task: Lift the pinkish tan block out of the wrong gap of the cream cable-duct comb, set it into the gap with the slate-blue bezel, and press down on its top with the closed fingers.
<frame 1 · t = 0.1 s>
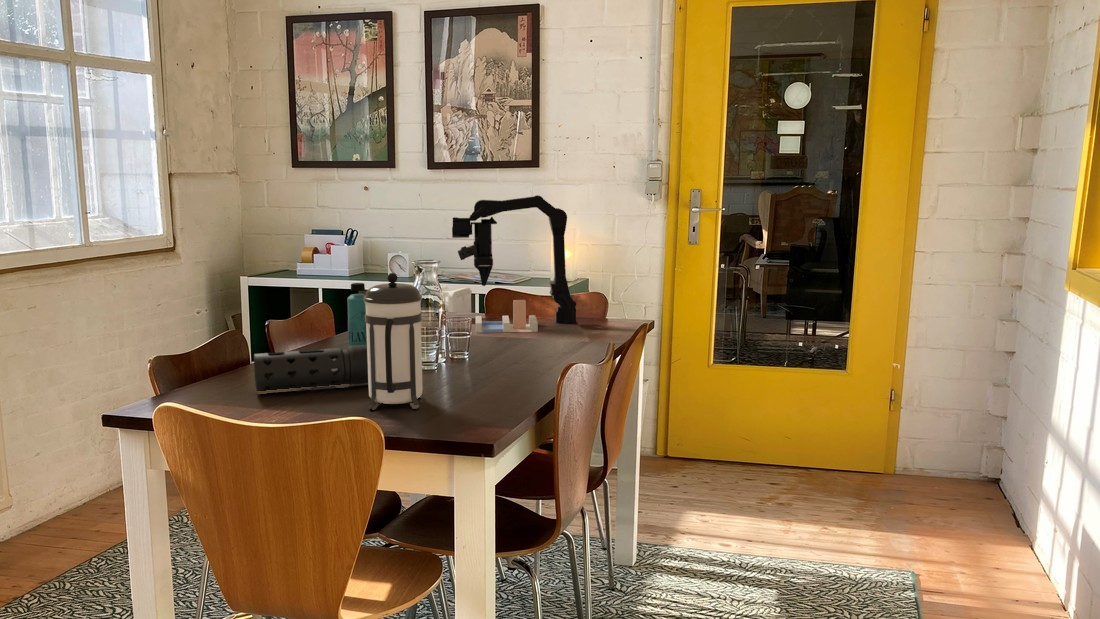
hand: (483, 284, 289), 15 cm above the table, fingers open, 9 cm apart
pinkish tan block: (519, 327, 283), point 1 cm above the table, touching duct comb
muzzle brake: (317, 391, 208), on the table
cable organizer: (450, 321, 302), on the table
beverage bottle: (359, 350, 253), on the table
coffee press: (397, 406, 194), on the table
duct comb: (506, 331, 283), on the table
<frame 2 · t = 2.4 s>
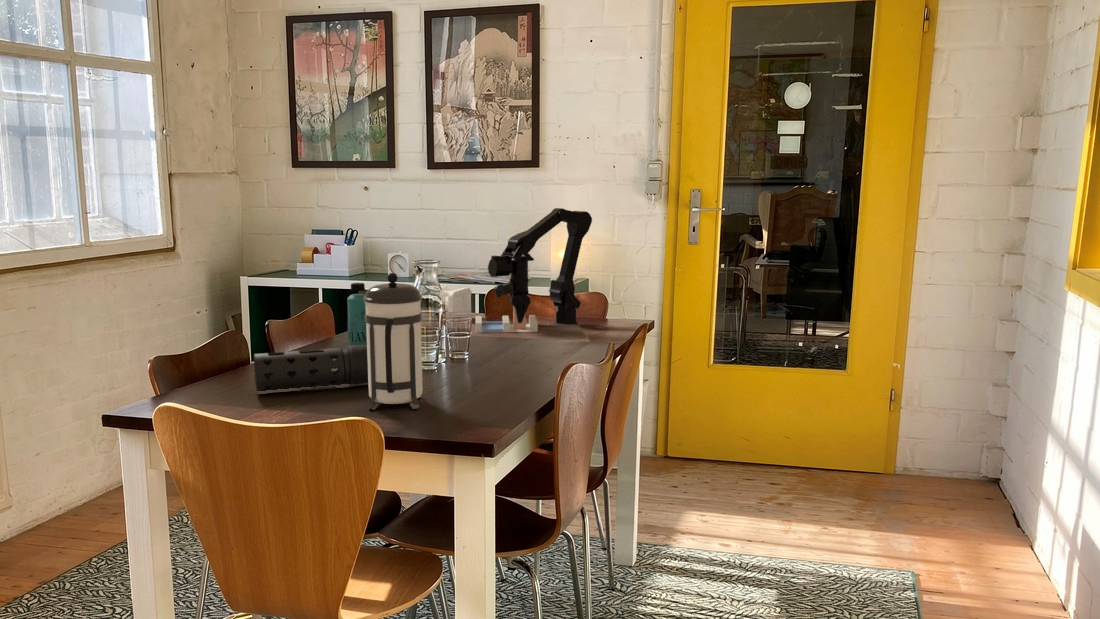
hand: (519, 321, 283), 3 cm above the table, fingers closed on pinkish tan block, 4 cm apart
pinkish tan block: (519, 327, 283), point 1 cm above the table, touching duct comb, gripper
everything else where it was.
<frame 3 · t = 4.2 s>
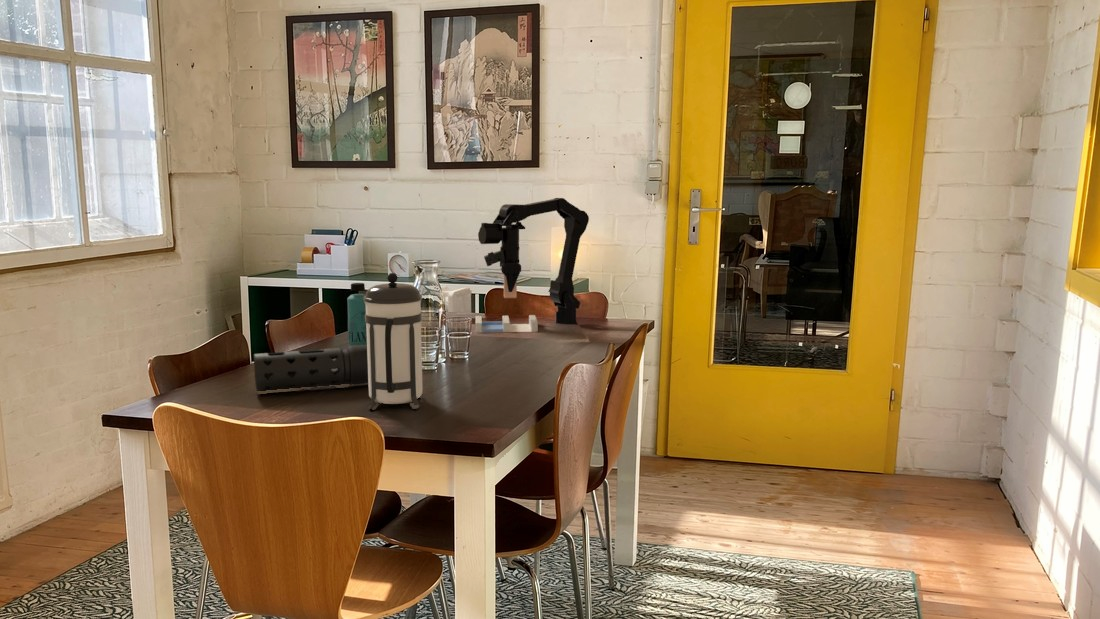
hand: (510, 291, 281), 13 cm above the table, fingers closed on pinkish tan block, 4 cm apart
pinkish tan block: (510, 297, 281), point 11 cm above the table, touching gripper
everything else where it was.
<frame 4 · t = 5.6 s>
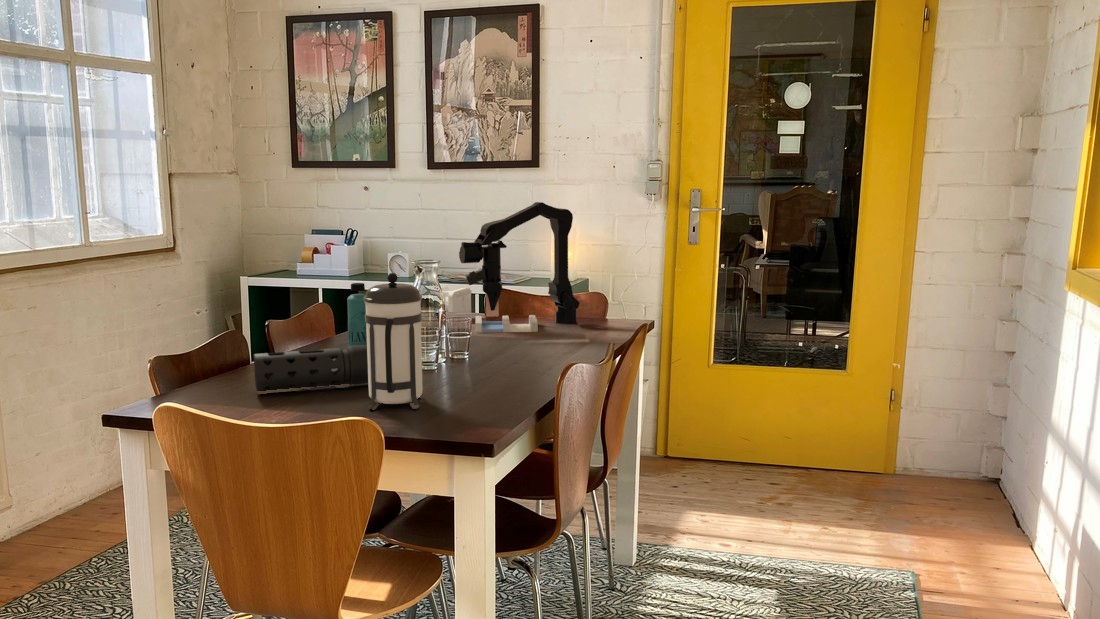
hand: (492, 309, 282), 7 cm above the table, fingers closed on pinkish tan block, 4 cm apart
pinkish tan block: (492, 315, 282), point 5 cm above the table, touching gripper
everything else where it was.
when the fingers open (5 cm above the table, at t = 6.4 s): pinkish tan block drops 1 cm, resting on duct comb.
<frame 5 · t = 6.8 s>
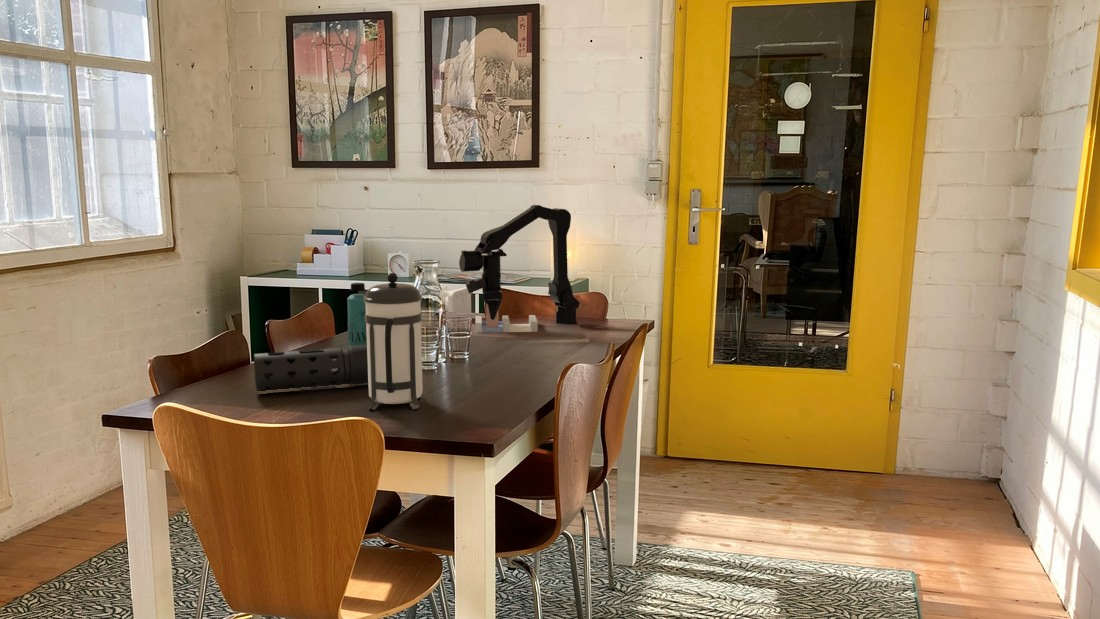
hand: (492, 317, 282), 5 cm above the table, fingers open, 8 cm apart
pinkish tan block: (492, 327, 283), point 1 cm above the table, touching duct comb
everything else where it was.
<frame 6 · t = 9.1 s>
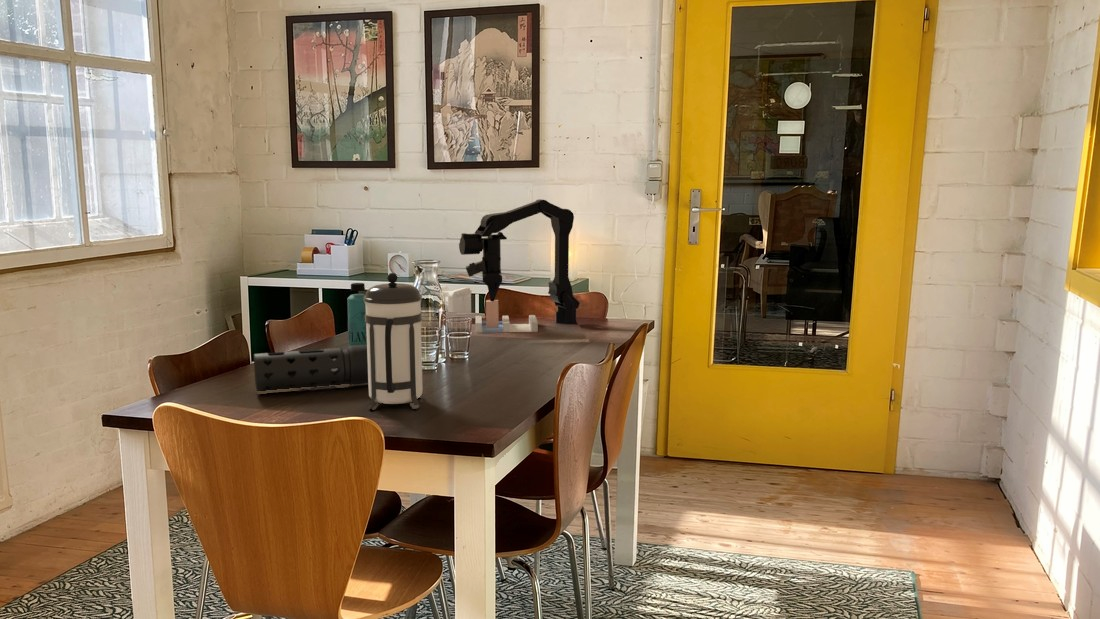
hand: (492, 301, 281), 10 cm above the table, fingers closed, pressing on pinkish tan block
pinkish tan block: (492, 327, 283), point 1 cm above the table, touching duct comb, gripper
everything else where it was.
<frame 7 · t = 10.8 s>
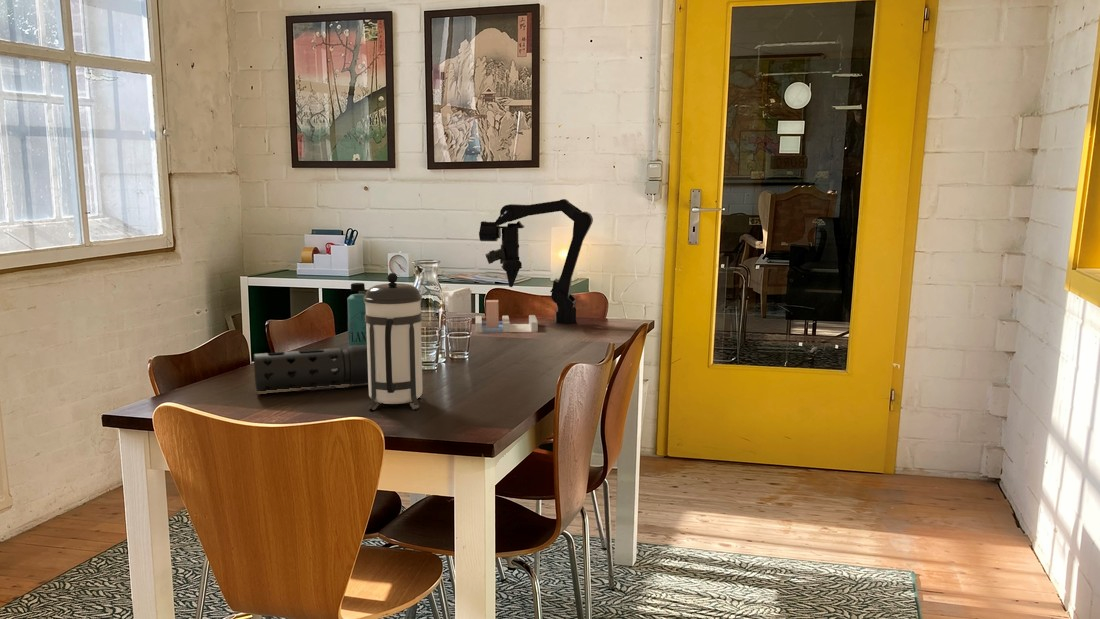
hand: (510, 286, 294), 13 cm above the table, fingers closed
pinkish tan block: (492, 327, 283), point 1 cm above the table, touching duct comb
everything else where it was.
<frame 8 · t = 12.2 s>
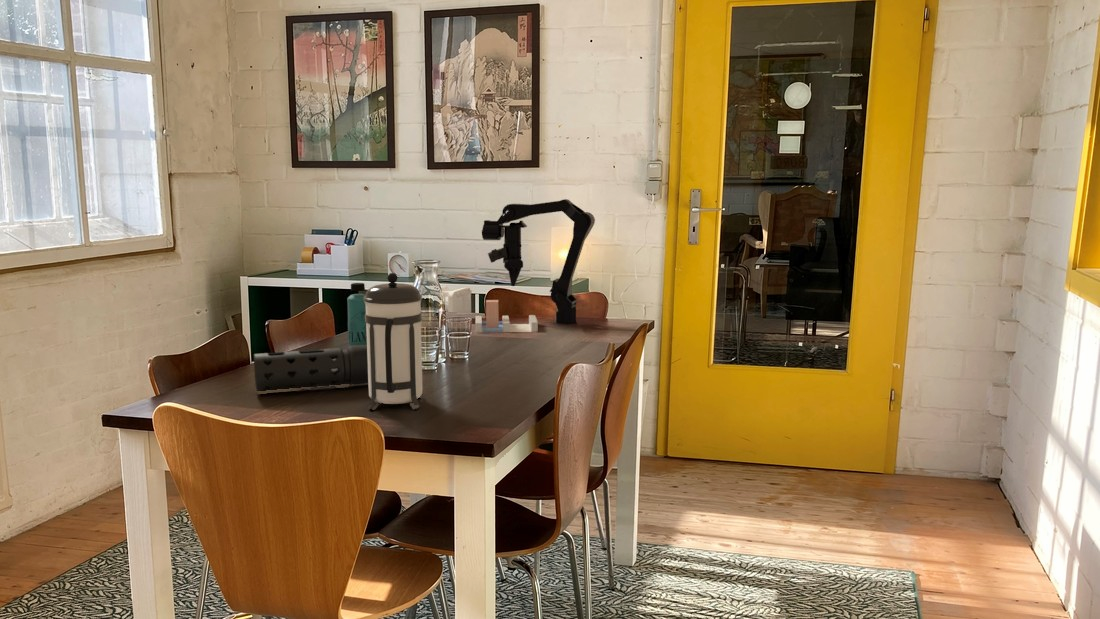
hand: (512, 285, 296), 13 cm above the table, fingers closed
nothing on the table moved.
at the end: pinkish tan block 0.0 cm from the target spot on the duct comb, point 1.1 cm above the duct comb's base; pinkish tan block tilted 0°; the gripper is holding nothing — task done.
